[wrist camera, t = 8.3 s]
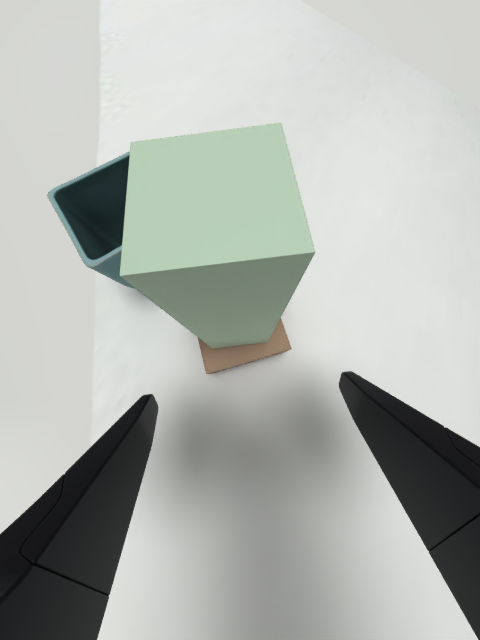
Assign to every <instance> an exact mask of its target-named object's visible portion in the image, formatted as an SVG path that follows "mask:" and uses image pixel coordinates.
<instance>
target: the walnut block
mask: <svg viewBox="0 0 480 640" xmlns="http://www.w3.org/2000/svg"><path fill="white" fill-rule="evenodd" d="M198 340H199V344H200V349H201V353H202V357H203V362H204V366H205V370H206V374H212V373H216V372H219V371H222V370H226V369H229V368H233V367H236V366H239V365H243V364H246V363H250V362H253V361H256V360H260V359H263V358H267V357H270V356H273V355H277V354H280V353H283V352H286V351H288V350H290V349H291V346H290V343H289V340H288V337H287V335H286V332H285V329H284V326H283V323H282V321H281V318H280V320H279V321H278V323H277V325H276V327H275V329H274V331H273V333H272V335H271V337H270V338H269V340H268V342H265V343H257V344H248V345H239V346H231V347H222V348H214V349H213V348H211V347H210V346H209V345H207V344H206V343H205V342H204V341H202V340H201V339H200V338H198Z"/></svg>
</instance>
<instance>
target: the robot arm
mask: <svg viewBox="0 0 480 640" xmlns="http://www.w3.org/2000/svg"><path fill="white" fill-rule="evenodd" d="M339 388H340V391H341V393H342V395H343V398H344V400H345V402H346V404H347V407H348V409H349V411H350V413H351V415H352V418H353V420H354V422H355V423H356V425H357V427H358V429H359V431H360V432H361V434H362V436H363V438H364V439H365V441H366V443H367V445H368V446H369V448H370V450H371V452H372V453H373V455H374V457H375V459H376V460H377V462H378V464H379V466H380V467H381V469H382V471H383V473H384V474H385V476H386V478H387V480H388V481H389V483H390V485H391V487H392V488H393V490H394V492H395V494H396V495H397V497H398V499H399V501H400V502H401V504H402V506H403V508H404V509H405V511H406V513H407V515H408V516H409V518H410V520H411V522H412V523H413V525H414V527H415V529H416V530H417V532H418V534H419V536H420V537H421V539H422V541H423V543H424V545H425V546H426V548H427V550H428V551H429V554H430V555H431V557H432V559H433V561H434V562H435V564H436V566H437V568H438V569H439V571H440V573H441V575H442V576H443V578H444V580H445V582H446V583H447V585H448V587H449V589H450V590H451V592H452V594H453V596H454V597H455V599H456V601H457V603H458V604H459V606H460V608H461V610H462V611H463V613H464V615H465V617H466V618H467V620H468V622H469V624H470V625H471V627H472V629H473V631H474V633H475V634H476V636H477V638H478V640H480V447H479V446H477V445H475V444H473V443H472V442H470V441H468V440H466V439H465V438H463V437H461V436H460V435H458V434H456V433H455V432H453V431H451V430H449V429H448V428H446V427H445V428H444V426H443V425H441V424H439V423H438V422H436V421H434V420H433V419H431V418H429V417H427V416H426V415H424V414H422V413H421V412H419V411H417V410H416V409H414V408H412V407H411V406H409V405H407V404H406V403H404V402H402V401H401V400H399V399H397V398H396V397H394V396H392V395H390V394H389V393H387V392H385V391H384V390H382V389H380V388H379V387H377V386H375V385H374V384H372V383H370V382H369V381H367V380H365V379H364V378H362V377H360V376H359V375H357V374H355V373H353V372H351V371H348V372H342V374H341V377H340V382H339ZM157 414H158V404H157V402H156V400H155V398H154V396H153V395H152V394H147V395H143V396H142V397H141V398H140V399H139V400H138V401H137V402H136V403H135V404H134V405H133V406H132V407H131V408H130V409H129V410H128V411H127V412H126V413H125V414H124V415H123V416H122V417H121V418H120V419H119V420H118V421H117V422H116V423H115V424H114V425H113V426H112V427H111V428H110V429H109V430H108V431H107V432H106V433H105V434H104V435H103V436H102V437H101V438H100V439H99V440H98V441H97V442H96V443H94V444H93V445H92V446H91V447H90V448H89V449H88V450H87V451H86V452H85V454H83V455H82V456H81V457H80V458H79V460H77V461H76V462H75V464H74V465H72V466H71V467H70V468H69V469H68V470H67V471H66V473H65V474H64V475H62V476H61V477H60V478H59V479H58V480H57V481H56V482H55V483H54V484H53V485H52V486H51V487H50V488H49V489H48V490H47V491H46V492H45V493H44V494H43V495H42V496H41V497H40V498H39V499H38V500H37V501H36V502H35V503H34V504H33V505H32V506H30V507H29V508H28V509H27V510H26V511H25V512H24V513H23V514H22V515H21V516H20V517H19V518H18V519H16V520H15V521H14V522H13V523H12V524H11V525H10V526H9V527H8V528H7V529H6V530H4V531H3V532H2V533H1V534H0V640H97V638H98V634H99V631H100V627H101V624H102V620H103V617H104V613H105V610H106V606H107V602H108V599H109V594H110V591H111V588H112V584H113V581H114V577H115V574H116V570H117V567H118V563H119V560H120V556H121V553H122V549H123V545H124V542H125V538H126V535H127V531H128V528H129V524H130V521H131V517H132V514H133V510H134V507H135V503H136V500H137V496H138V493H139V489H140V485H141V482H142V478H143V475H144V471H145V468H146V464H147V461H148V457H149V454H150V450H151V446H152V442H153V436H154V431H155V425H156V420H157Z"/></svg>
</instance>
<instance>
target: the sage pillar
mask: <svg viewBox="0 0 480 640" xmlns="http://www.w3.org/2000/svg"><path fill="white" fill-rule="evenodd" d="M314 254H315V249H314V245H313V241H312V237H311V234H310V230H309V226H308V222H307V218H306V215H305V211H304V207H303V203H302V200H301V196H300V192H299V188H298V184H297V181H296V177H295V173H294V169H293V165H292V162H291V158H290V154H289V150H288V146H287V143H286V139H285V135H284V131H283V127H282V124H281V123H275V124H267V125H260V126H252V127H244V128H237V129H229V130H221V131H214V132H206V133H198V134H191V135H183V136H175V137H168V138H160V139H152V140H145V141H137V142H131V146H130V158H129V170H128V182H127V194H126V206H125V218H124V230H123V242H122V254H121V266H120V277H122V278H123V279H124V280H126V281H127V282H128V283H129V284H131V285H132V286H133V287H135V288H136V289H137V290H138V291H140V292H141V293H142V294H144V295H145V296H146V297H147V298H149V299H150V300H151V301H152V302H154V303H155V304H156V305H158V306H159V307H160V308H161V309H163V310H164V311H165V312H167V313H168V314H169V315H170V316H172V317H173V318H174V319H175V320H177V321H178V322H179V323H181V324H182V325H183V326H184V327H186V328H187V329H188V330H190V331H191V332H192V333H193V334H195V335H196V336H197V337H198V338H200V339H201V340H202V341H204V342H205V343H206V344H207V345H209V346H210V347H211V348H213V349H214V348H222V347H231V346H239V345H248V344H257V343H265V342H268V340H269V338H270V337H271V335H272V333H273V331H274V329H275V327H276V325H277V323H278V321H279V320H280V318H281V316H282V314H283V312H284V310H285V308H286V306H287V304H288V303H289V301H290V299H291V297H292V295H293V293H294V291H295V289H296V288H297V286H298V284H299V282H300V280H301V278H302V276H303V274H304V272H305V271H306V269H307V267H308V265H309V263H310V261H311V259H312V257H313V255H314Z"/></svg>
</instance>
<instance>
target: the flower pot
mask: <svg viewBox="0 0 480 640" xmlns="http://www.w3.org/2000/svg"><path fill="white" fill-rule="evenodd" d="M129 158H130V152H127V153H125V154H123V155H122V156H119V157H117V158H115V159H113V160H111V161H109V162H107V163H105V164H103V165H101V166H99V167H97V168H95V169H93V170H91V171H89V172H87V173H85V174H83V175H81V176H79V177H77V178H75V179H73V180H70V181H68V182H67V183H64V184H62V185H60V186H58V187H56V188H54V189H52V190H51V191H50V192H48V194H47V196H48V199H49V201H50V202H51V204H52V206H53V207H54V209H55V211H56V212H57V214H58V216H59V218H60V220H61V222H62V223H63V225H64V227H65V229H66V231H67V233H68V234H69V236H70V238H71V240H72V242H73V244H74V246H75V247H76V249H77V251H78V253H79V255H80V257H81V259H82V261H83V262H84V264H85V265H86V266H87V267H89V268H91V269H94V270H95V271H97V272H99V273H101V274H103V275H105V276H107V277H109V278H111V279H113V280H115V281H117V282H119V283H121V284H123V285H125V286H128V287H131V288H135V287H133V286H132V285H131V284H129V283H128V282H127V281H126V280H124V279H123V278H122V277H120V266H121V254H122V242H123V230H124V218H125V206H126V194H127V182H128V170H129Z"/></svg>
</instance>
